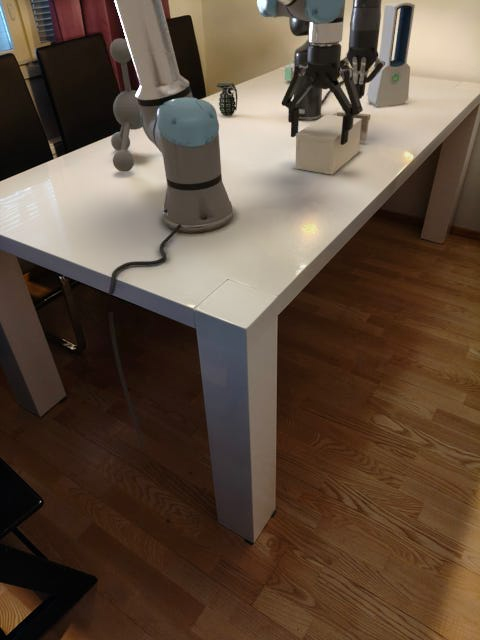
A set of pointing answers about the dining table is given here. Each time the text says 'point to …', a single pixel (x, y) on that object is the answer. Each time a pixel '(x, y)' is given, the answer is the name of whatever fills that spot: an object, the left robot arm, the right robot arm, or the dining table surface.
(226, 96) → the grenade
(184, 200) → the left robot arm
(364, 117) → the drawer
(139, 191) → the dining table surface
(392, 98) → the electronic device
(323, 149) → the cabinet
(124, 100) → the molecular model
